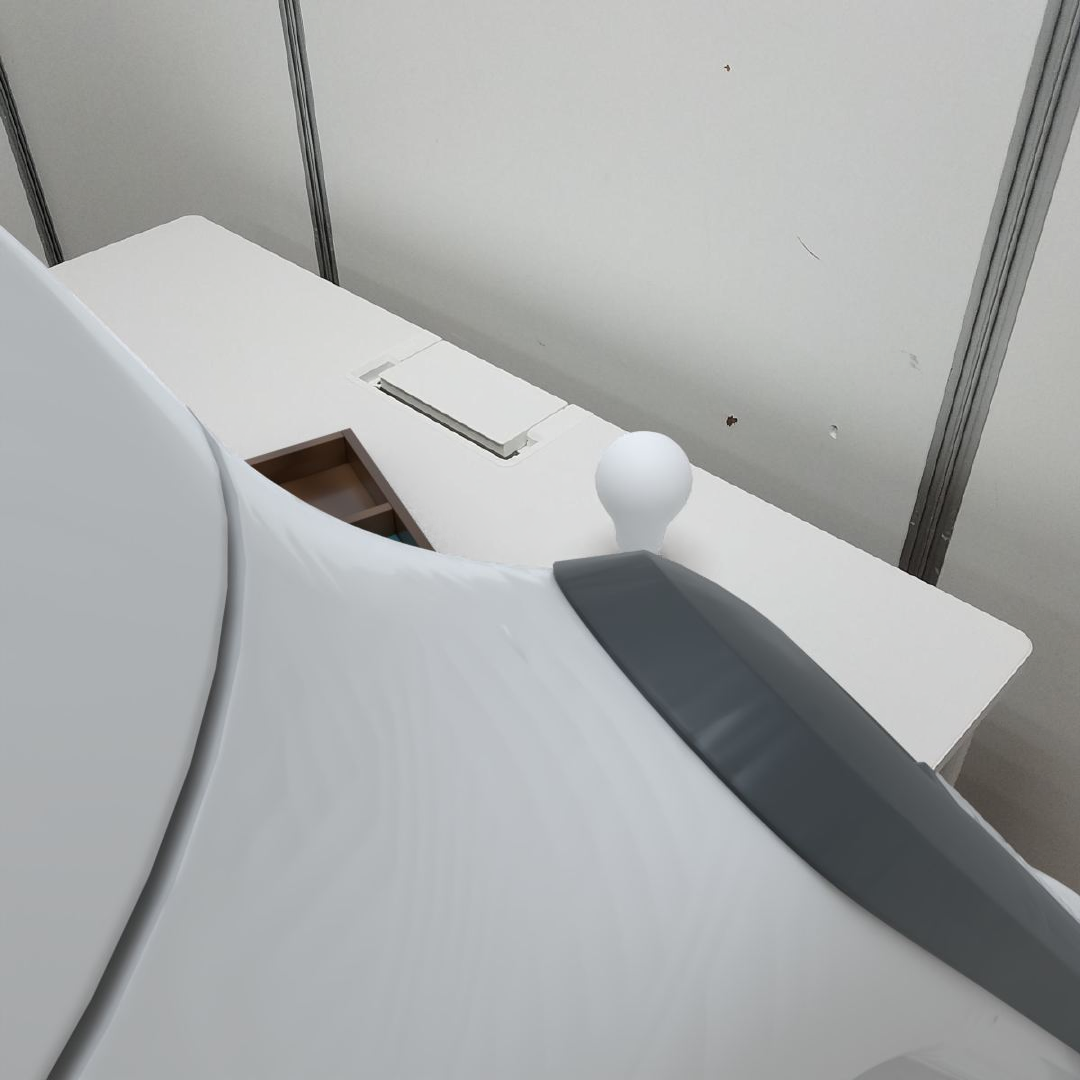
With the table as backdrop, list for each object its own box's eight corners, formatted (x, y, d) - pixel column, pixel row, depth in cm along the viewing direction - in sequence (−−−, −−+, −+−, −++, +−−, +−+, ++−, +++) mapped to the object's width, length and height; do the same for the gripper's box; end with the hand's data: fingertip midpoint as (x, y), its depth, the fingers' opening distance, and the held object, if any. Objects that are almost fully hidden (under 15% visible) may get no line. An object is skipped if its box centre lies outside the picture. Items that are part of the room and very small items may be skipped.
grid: (165, 736, 65) (153, 703, 63) (95, 541, 78) (83, 508, 76) (464, 621, 72) (462, 588, 70) (355, 459, 85) (350, 427, 83)
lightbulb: (573, 568, 76) (575, 438, 68) (636, 528, 79) (645, 399, 71) (637, 616, 72) (647, 485, 65) (701, 573, 75) (717, 442, 68)
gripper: (896, 872, 41) (683, 628, 50) (371, 1161, 33) (234, 814, 42) (862, 958, 45) (672, 719, 54) (390, 1230, 38) (262, 901, 47)
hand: (476, 762), depth 48 cm, fingers closed on box, 6 cm apart
